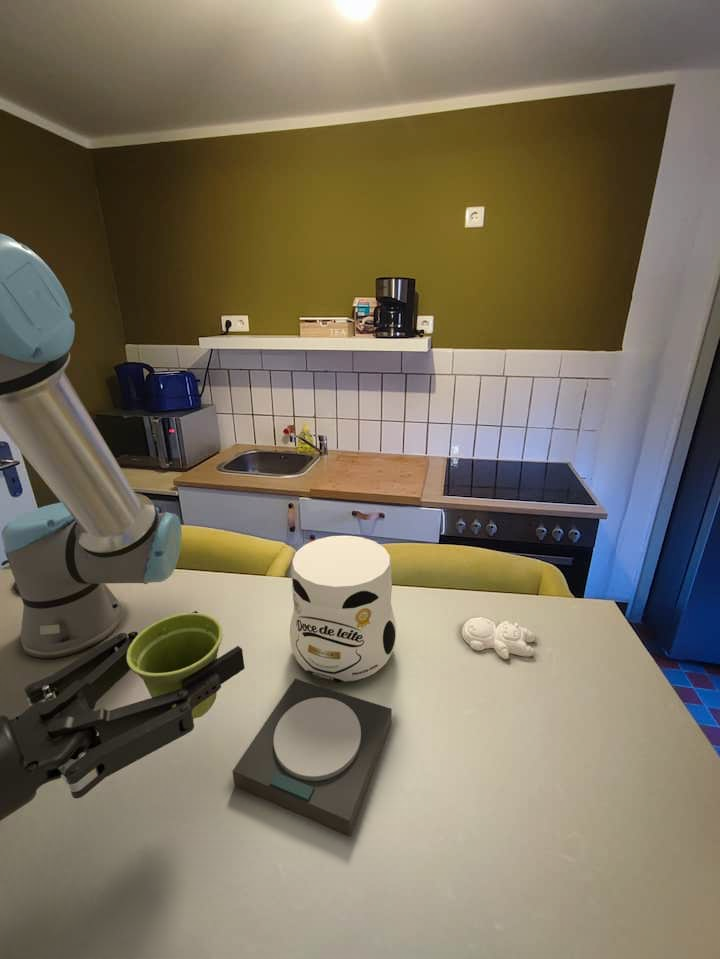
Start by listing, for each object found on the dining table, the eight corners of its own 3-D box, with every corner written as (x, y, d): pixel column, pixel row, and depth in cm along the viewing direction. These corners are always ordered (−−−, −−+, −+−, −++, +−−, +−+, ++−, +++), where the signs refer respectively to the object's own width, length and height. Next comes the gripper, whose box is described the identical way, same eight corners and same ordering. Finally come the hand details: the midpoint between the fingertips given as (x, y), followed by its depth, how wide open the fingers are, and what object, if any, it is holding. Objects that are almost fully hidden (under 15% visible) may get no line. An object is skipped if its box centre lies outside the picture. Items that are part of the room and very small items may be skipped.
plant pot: (203, 748, 43) (190, 681, 40) (122, 731, 45) (104, 666, 42) (245, 677, 52) (237, 618, 49) (175, 665, 54) (164, 608, 51)
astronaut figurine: (530, 669, 68) (533, 653, 67) (456, 644, 73) (457, 630, 72) (537, 635, 75) (539, 621, 74) (469, 615, 81) (470, 601, 79)
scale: (234, 785, 51) (231, 766, 50) (296, 690, 64) (294, 673, 63) (350, 836, 46) (349, 816, 45) (391, 722, 59) (392, 704, 58)
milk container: (302, 707, 62) (295, 602, 55) (284, 629, 77) (276, 541, 71) (412, 677, 67) (417, 578, 60) (374, 610, 82) (375, 526, 76)
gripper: (-44, 740, 42) (179, 624, 57) (6, 935, 28) (278, 714, 44) (-71, 681, 39) (171, 576, 55) (-31, 864, 26) (273, 656, 42)
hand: (218, 638), depth 50 cm, fingers closed on plant pot, 8 cm apart
